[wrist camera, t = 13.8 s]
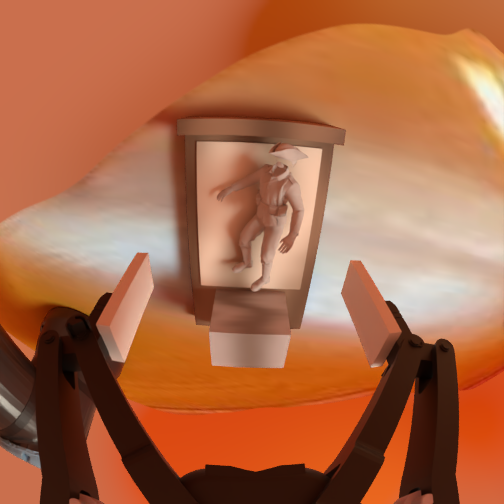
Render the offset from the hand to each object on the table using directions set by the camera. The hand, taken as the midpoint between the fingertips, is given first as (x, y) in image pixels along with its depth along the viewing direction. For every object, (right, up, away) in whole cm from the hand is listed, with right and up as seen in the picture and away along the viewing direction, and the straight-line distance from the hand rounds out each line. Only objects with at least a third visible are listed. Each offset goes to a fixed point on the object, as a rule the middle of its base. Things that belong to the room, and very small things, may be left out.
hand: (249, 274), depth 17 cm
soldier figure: (+1, +5, +6) cm, 8 cm away
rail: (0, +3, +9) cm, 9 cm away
